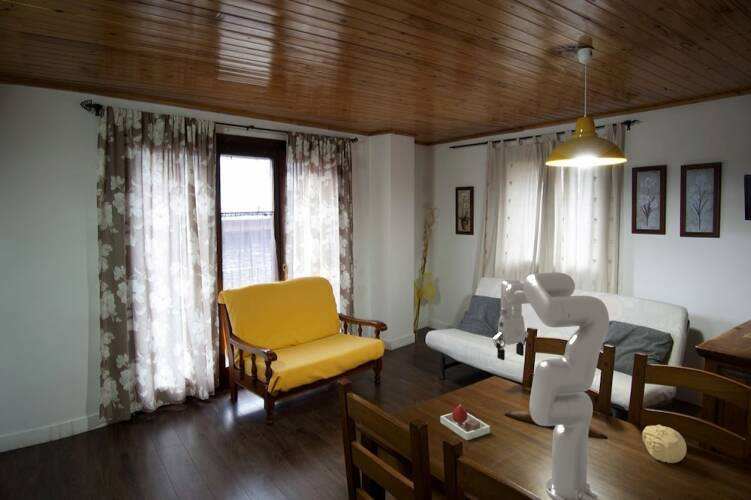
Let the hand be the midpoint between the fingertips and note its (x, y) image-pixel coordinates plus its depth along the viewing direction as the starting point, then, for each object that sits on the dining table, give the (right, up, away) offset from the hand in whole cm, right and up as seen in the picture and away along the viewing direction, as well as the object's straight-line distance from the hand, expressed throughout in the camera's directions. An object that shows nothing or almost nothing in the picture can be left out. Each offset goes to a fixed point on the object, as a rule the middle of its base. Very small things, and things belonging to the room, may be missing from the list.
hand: (510, 356), depth 173 cm
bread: (+18, -29, +4) cm, 34 cm away
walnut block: (-15, -28, -2) cm, 32 cm away
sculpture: (+46, -30, -19) cm, 58 cm away
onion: (-18, -28, +5) cm, 34 cm away
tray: (-17, -29, +2) cm, 33 cm away
